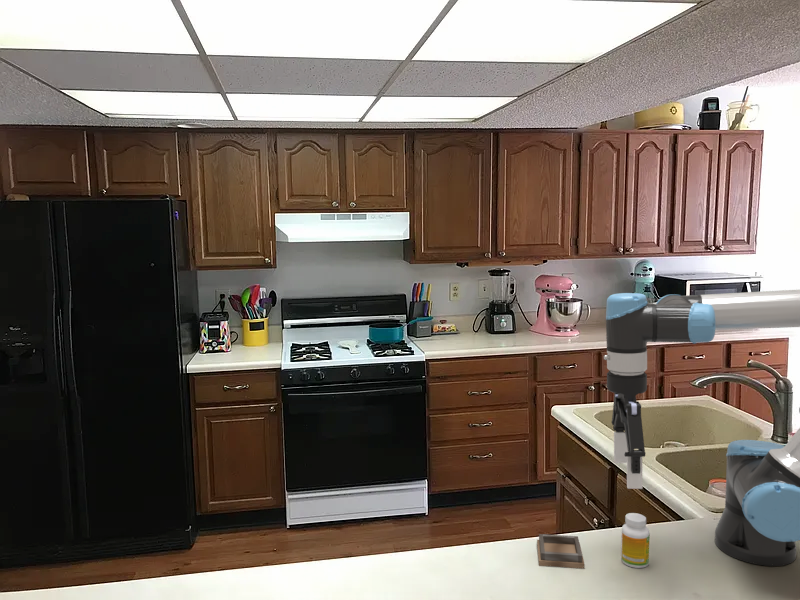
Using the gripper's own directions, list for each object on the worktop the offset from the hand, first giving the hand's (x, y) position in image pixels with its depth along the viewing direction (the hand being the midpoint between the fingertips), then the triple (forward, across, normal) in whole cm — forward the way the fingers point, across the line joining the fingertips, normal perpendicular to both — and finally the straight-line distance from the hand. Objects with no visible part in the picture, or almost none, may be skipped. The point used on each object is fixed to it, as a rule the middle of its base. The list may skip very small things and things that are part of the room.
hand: (627, 474), depth 128 cm
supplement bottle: (+19, -1, +1) cm, 19 cm away
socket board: (+18, -1, -14) cm, 23 cm away
